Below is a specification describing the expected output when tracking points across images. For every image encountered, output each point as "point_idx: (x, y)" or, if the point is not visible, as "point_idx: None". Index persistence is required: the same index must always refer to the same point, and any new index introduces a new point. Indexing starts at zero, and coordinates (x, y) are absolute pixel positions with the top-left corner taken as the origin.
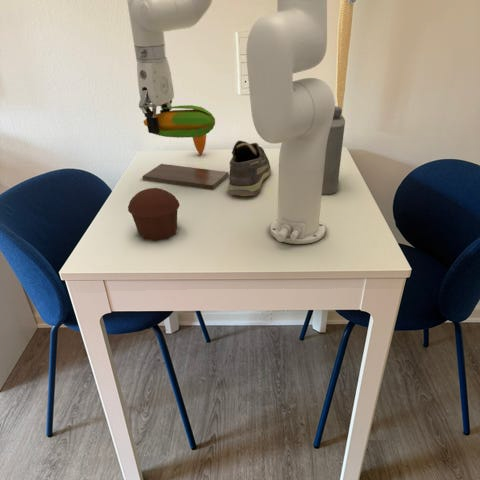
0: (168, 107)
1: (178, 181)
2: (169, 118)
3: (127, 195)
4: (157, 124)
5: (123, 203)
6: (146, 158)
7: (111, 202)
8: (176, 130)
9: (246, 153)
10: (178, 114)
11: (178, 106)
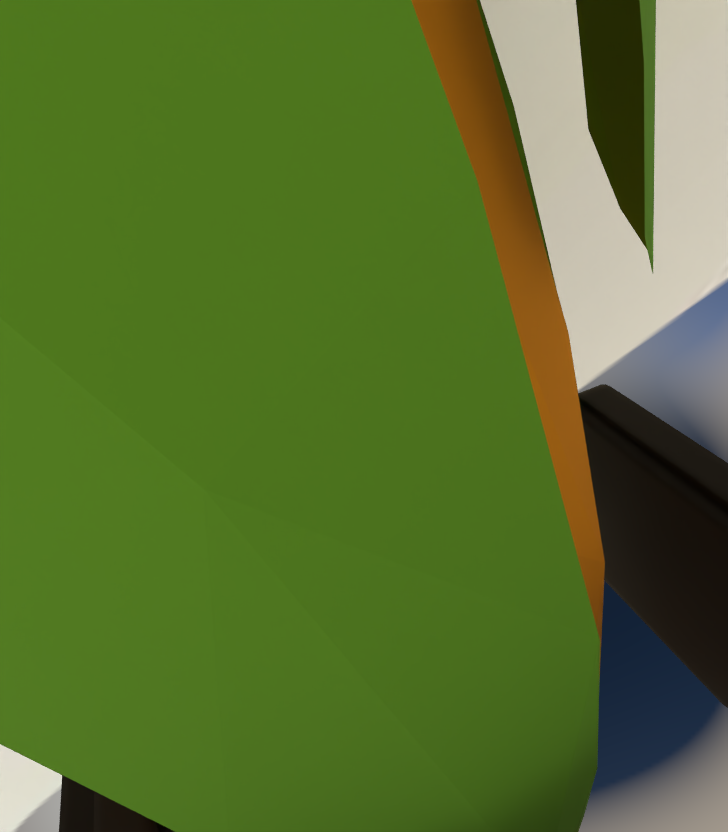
0: (520, 776)
1: None
2: (570, 394)
3: (581, 311)
4: (706, 453)
5: (684, 228)
6: (11, 764)
7: (691, 303)
8: (499, 76)
9: None
10: (650, 41)
11: (357, 509)
